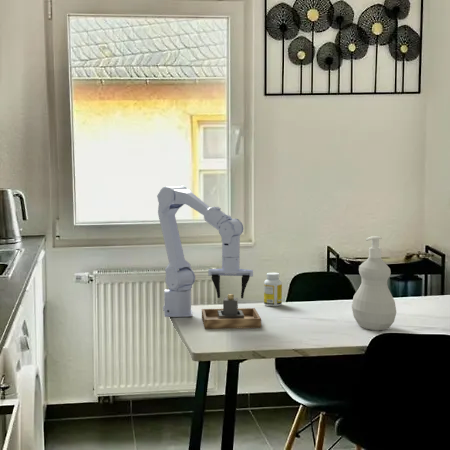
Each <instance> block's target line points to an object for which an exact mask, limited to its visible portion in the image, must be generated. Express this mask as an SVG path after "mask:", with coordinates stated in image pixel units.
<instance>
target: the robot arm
mask: <svg viewBox="0 0 450 450" xmlns="http://www.w3.org/2000/svg"><path fill="white" fill-rule="evenodd" d="M156 197H157V202H158V208H157V215H158V220H159V223H160V228H161V232H162V237H163V241H164V246H165V250H166V255H167V259H168V264H167V266H166V267H165V268H164V271H165V279H164V280H165V284H166V286H167V288H168V289H167V288H166V289H164V290H163V291H164V292H163V293H164V294H163V297H164V299H163V300H164V301H163V303H164V304H163V307H162V309H163V313H164V314H163V315H164V317H165V318H185V317H193V311H192V288H193V285H194V283H195V281H196V274H195V272H194V270H193V269H192V266H191V263H190V262H188V261H187V260H186V258H185V254H184V249H183V246H182V241H181V235H180V232H179V229H178V223H177V220H176V219H177V217H176V215H177V212H178V211H179V209H181V208H182V207H183V206H185V205H186V206H188V207H190V208H191V209H193V210H195V211H196V212H198V213H199V214H201V215H202V216H203V219H204V221H205V222H206V223H208V224H209V225H211V226H212V227H213V228H215V229H216V230H217V231H218V234H219V236H220V238H221V245H222V246H221V256H222V257H221V268H208V271H207V274H208V277H209V276H210V277H211V278H210V279H211V280H212V283H213V285H214V289H215V290H216V297H217V298H218V299H220V298H221V287H220V286H221V276H230V277H241V291H240V299H244V295H245V289H246V287H247V285H248V282H249V281H250V277H254V269H247V268H245V269H244V268H240V260H241V258H240V256H241V253H240V252H241V250H240V247H241V245H240V244H241V235H242V234H243V232H244V224H243V223H242V222H241V220H240V219H239V218H232V216H231V215H230V214H226V213H225V212H223V211H222V210H221V207H220V206H211V207H210V206H209V205H208V204H207V203H205V202H204V201H203V200H202V199H200V198H199V196H197V195H196V194H194V193H193V191H192V190H191V189H189V188H187V186H185V185H178V186H177V185H176V186H164V187H162V188H161V189H160V190H159V191H158V193H157V195H156Z"/></svg>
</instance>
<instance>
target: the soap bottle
mask: <svg viewBox="0 0 450 450" xmlns="http://www.w3.org/2000/svg"><path fill="white" fill-rule="evenodd" d="M381 239H382V237H381V236H379V235H371V236H369V237H366V238H365V241H371V246H370V247H369V246H368V258H367V259H366V260H365V261H363V262H362V263H361V264H360V265H358V273H359V275H360V279H361V283H360V285H359V288H358V289H356V292H355V293H354V295H353V298H352V303H351V309H352V315H353V318H354V319H355V322H356V323H357V325H358V326H360V328H361V327H362V328H363V329H366V330H371V331H384V330H388V329H390V328H391V326H392V325H393V324H394V323H395V320H396V315H397V308H396V307H397V306H396V301H395V299H394V297H393V294H392V293H391V290H390V289H389V286H388V280H389V279H390V277H391V273H392V272H391V268H390V267H389V266H388V264H387V263H386V262H385V261H384V260H383V259H382V247H380V240H381Z"/></svg>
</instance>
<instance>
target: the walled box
mask: <svg viewBox="0 0 450 450" xmlns="http://www.w3.org/2000/svg"><path fill="white" fill-rule="evenodd" d="M217 310H223V308H202V309H201V320H202V324H203V328H204V330H217V329H218V330H221V329H222V330H224V329H225V330H227V329H230V330H232V329H261V328H262V318H261V316H260V315H259V313H258V311H257V310H256V308H255V307H252V308H251V307H247V308H246V307H245V308H241V307H240V308H239V307H238V310H242V312H243V314H244V319H218V318H217Z"/></svg>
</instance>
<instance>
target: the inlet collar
mask: <svg viewBox="0 0 450 450" xmlns="http://www.w3.org/2000/svg"><path fill="white" fill-rule="evenodd" d="M217 318H218V319H244V314H243V312H242V310H238V315H223V310H217Z"/></svg>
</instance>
